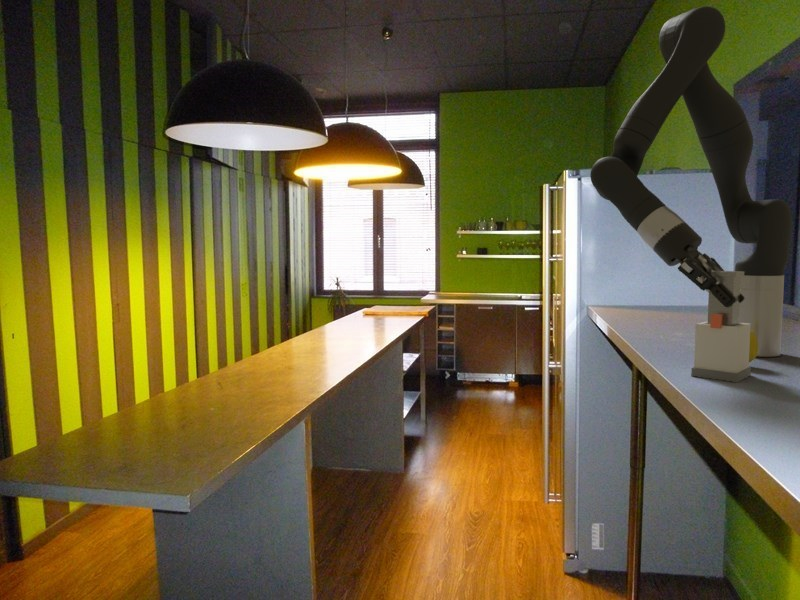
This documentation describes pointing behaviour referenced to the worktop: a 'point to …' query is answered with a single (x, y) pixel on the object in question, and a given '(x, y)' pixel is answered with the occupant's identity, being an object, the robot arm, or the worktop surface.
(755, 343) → the lemon
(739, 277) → the column
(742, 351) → the stand
